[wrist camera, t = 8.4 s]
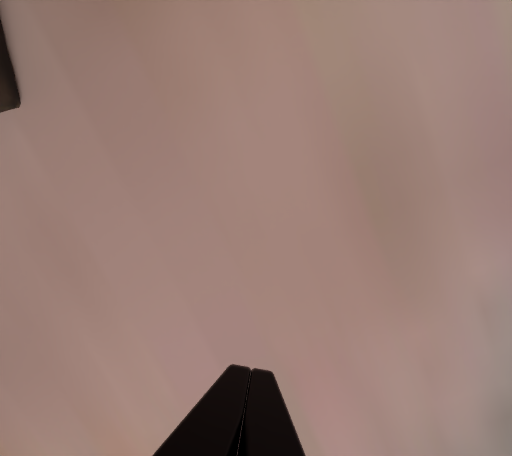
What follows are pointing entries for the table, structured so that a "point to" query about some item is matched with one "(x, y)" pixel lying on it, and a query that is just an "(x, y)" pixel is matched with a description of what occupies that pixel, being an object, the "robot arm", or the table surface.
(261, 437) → the robot arm
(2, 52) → the beverage carton
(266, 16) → the table surface
